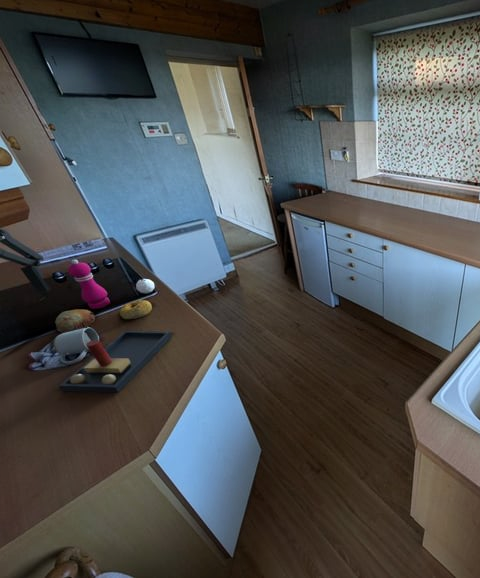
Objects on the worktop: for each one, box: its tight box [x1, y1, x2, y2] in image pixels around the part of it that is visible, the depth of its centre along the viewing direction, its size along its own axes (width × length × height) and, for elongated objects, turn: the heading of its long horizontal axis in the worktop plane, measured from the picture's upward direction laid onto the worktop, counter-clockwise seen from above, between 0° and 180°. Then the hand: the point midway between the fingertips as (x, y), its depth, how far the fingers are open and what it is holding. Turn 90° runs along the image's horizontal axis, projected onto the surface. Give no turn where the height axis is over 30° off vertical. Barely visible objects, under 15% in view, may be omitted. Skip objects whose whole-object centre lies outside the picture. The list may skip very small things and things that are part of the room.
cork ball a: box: [70, 374, 85, 384], centre depth 83 cm, size 3×3×3 cm
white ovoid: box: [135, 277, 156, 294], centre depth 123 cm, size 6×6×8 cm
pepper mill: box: [67, 259, 111, 310], centre depth 112 cm, size 7×7×20 cm
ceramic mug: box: [52, 326, 100, 365], centre depth 92 cm, size 11×8×8 cm
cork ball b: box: [101, 374, 116, 385], centre depth 83 cm, size 3×3×3 cm
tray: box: [59, 330, 173, 393], centre depth 91 cm, size 16×24×2 cm, turn 179°
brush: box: [84, 339, 131, 375], centre depth 85 cm, size 10×4×11 cm, turn 90°
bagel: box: [119, 299, 153, 320], centre depth 112 cm, size 10×11×5 cm
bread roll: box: [54, 308, 96, 334], centre depth 105 cm, size 10×10×8 cm
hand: (14, 306), depth 68 cm, fingers open, 13 cm apart
